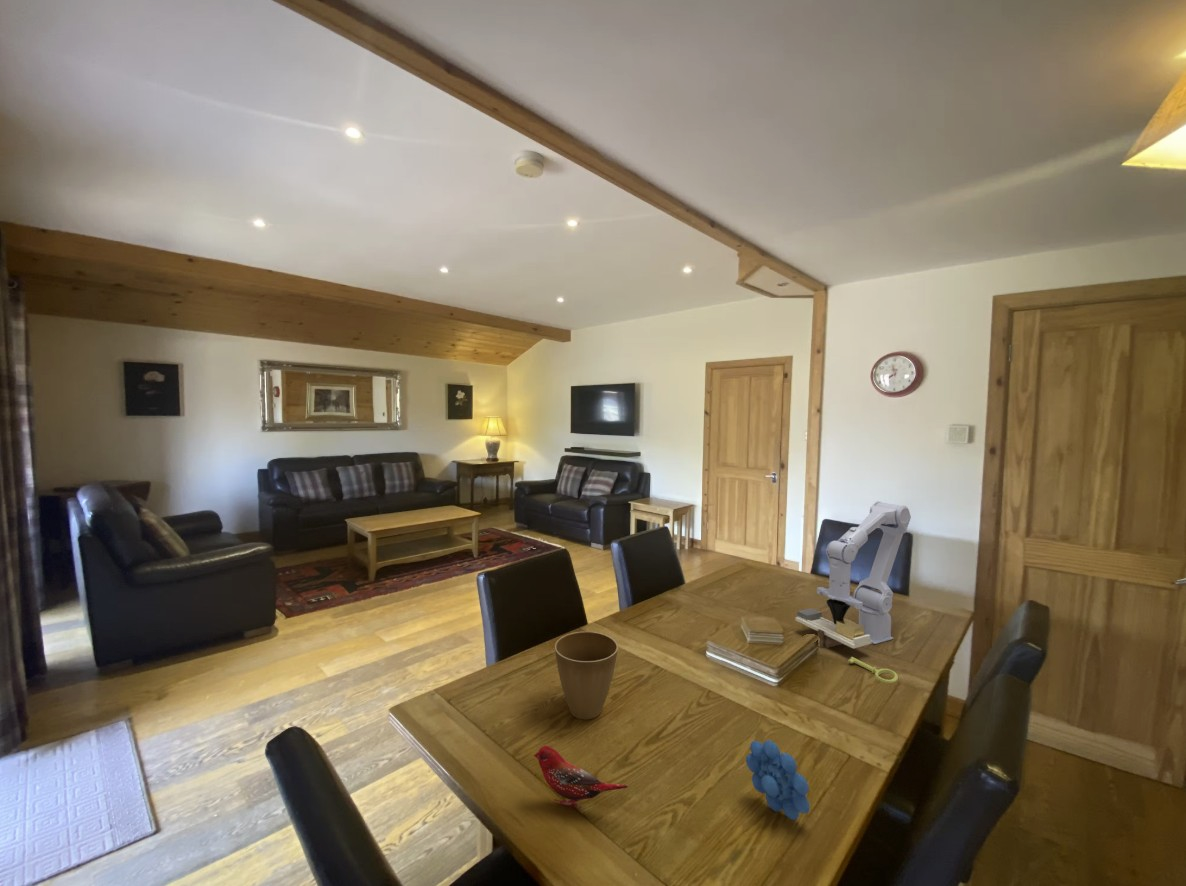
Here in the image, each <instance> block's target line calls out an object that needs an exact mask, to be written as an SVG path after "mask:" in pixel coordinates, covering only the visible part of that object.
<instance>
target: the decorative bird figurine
mask: <svg viewBox="0 0 1186 886" xmlns="http://www.w3.org/2000/svg"><path fill="white" fill-rule="evenodd" d="M533 757H535V758H537V760H538V765H539V767H540V769H541V772H542V775H543V778H544V780H545V781H546V783H547V785H548V787H550V788H551V790H553V791H554V792H555V793H556V794H557V795H559V796H560V797H562V798H565V799H562V800H559V799H556V798H555V799H554V801H556V802H559V803H560V804H561V805H563V806H566V807H567V806H570V807H575V808H577V807H578V808H582V806H581V805H580V804H579V803H576V802H579V801H583V800H589V799H595V797H597V796H599V795H600V794H602V793H603V792H607V791H614V790H621V789H627V788H629V786H628V785H625V784H619V783H608V782H602V781H600V780H599V779H598V778H596V777H595V776H593V775H592V774H591V773H589V772H587V771H586V770H584V769H582V768H581V767H578V766H576V765H575V764H572V763H571V762H569V761H568V760H565V759H564V758H563V757H562V755H561V754H560V753H559V752H558V751H557V750H556V749H554V748H553V747H550V746H549V745H543V746H542V747H541V748H540V749H539V750H538V752H536V753H534V755H533ZM566 799H567V800H566Z"/></svg>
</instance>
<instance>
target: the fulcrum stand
mask: <svg viewBox="0 0 1186 886" xmlns="http://www.w3.org/2000/svg"><path fill="white" fill-rule="evenodd" d="M817 636H819V638H820V647H821V649H823V648H826V647H827V649H829V648H832V647H836V645H837V646H840V645H844V644H843V643H841V642H839V641H837V640H835V639H833V638H831V637H829V636H827V635H824V631H823V630H821V629H818V631H817ZM824 646H825V647H824ZM820 647H819V648H820ZM822 647H823V648H822Z"/></svg>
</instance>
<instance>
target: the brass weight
mask: <svg viewBox="0 0 1186 886" xmlns="http://www.w3.org/2000/svg"><path fill="white" fill-rule="evenodd" d="M836 633H838V634H840V635H842V636H844V637H846V638H848V639H850V640H853V638H856V637H860V636H863V635H864V626H862V625H859V623H857V622H855V621H853V620H850V619H848V618H843V619H842V620H838V621H837V623H836Z"/></svg>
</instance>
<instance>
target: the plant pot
mask: <svg viewBox="0 0 1186 886" xmlns="http://www.w3.org/2000/svg"><path fill="white" fill-rule="evenodd" d="M618 650H619V645H618V643H617V641H616V640H615V639H614V638H613V637H610V636H609V635H607V634H604V633H601V632H597V631H576V632H571V633H568V634H565V635H563V636H561V637H560V638H559V639H558V640H556V642H555V643H554V652H555V659H556V665H557V671H558V676H559V681H560V684H561V685H560V686H561V687H562V691H563V696H564V698H565V701H566V704H567V706H568V709H569V712H570V713H571V715H572V716H573V717H575V718H576V719H580V720H591V719H595V718H596V717H598V716H599V715H600V714H601V713H602V710H603V708H604V705H605V702H606V700H607V697H608V694H609V691H610V689H611V684H612V681H613V678H614V677H613V676H614V672H615V668H616V661H617V656H618Z"/></svg>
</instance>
